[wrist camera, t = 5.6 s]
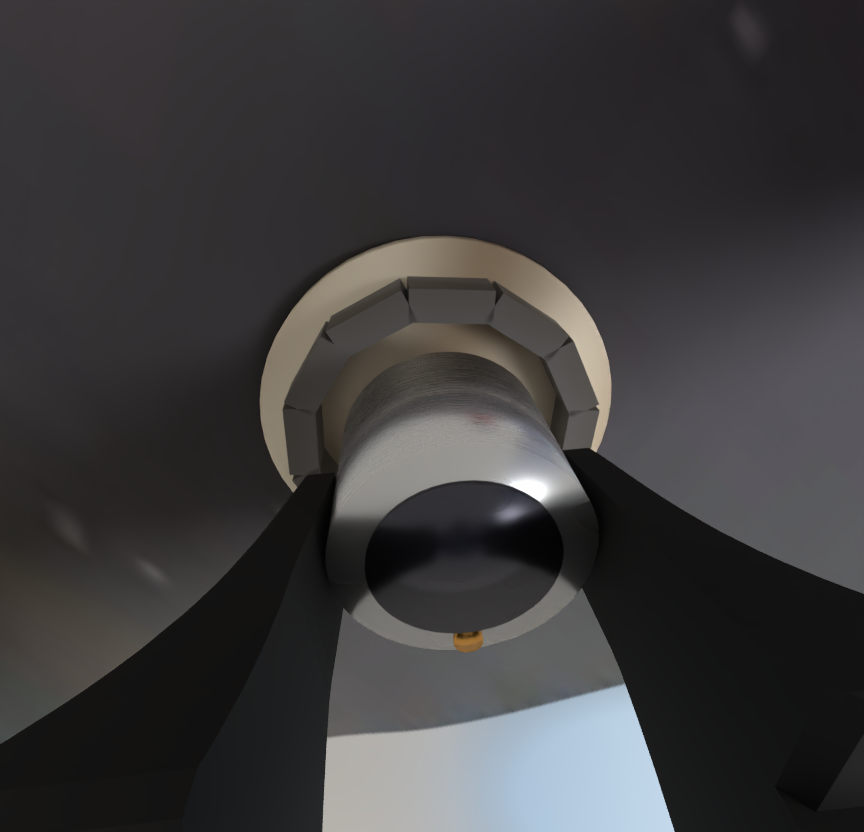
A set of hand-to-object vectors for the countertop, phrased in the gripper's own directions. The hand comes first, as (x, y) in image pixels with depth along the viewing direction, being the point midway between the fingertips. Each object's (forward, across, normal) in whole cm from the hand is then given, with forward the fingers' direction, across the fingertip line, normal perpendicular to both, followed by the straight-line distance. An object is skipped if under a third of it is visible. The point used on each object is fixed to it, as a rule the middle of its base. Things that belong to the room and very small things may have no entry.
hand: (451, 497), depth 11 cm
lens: (+2, 0, 0) cm, 2 cm away
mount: (+4, 0, 0) cm, 4 cm away
